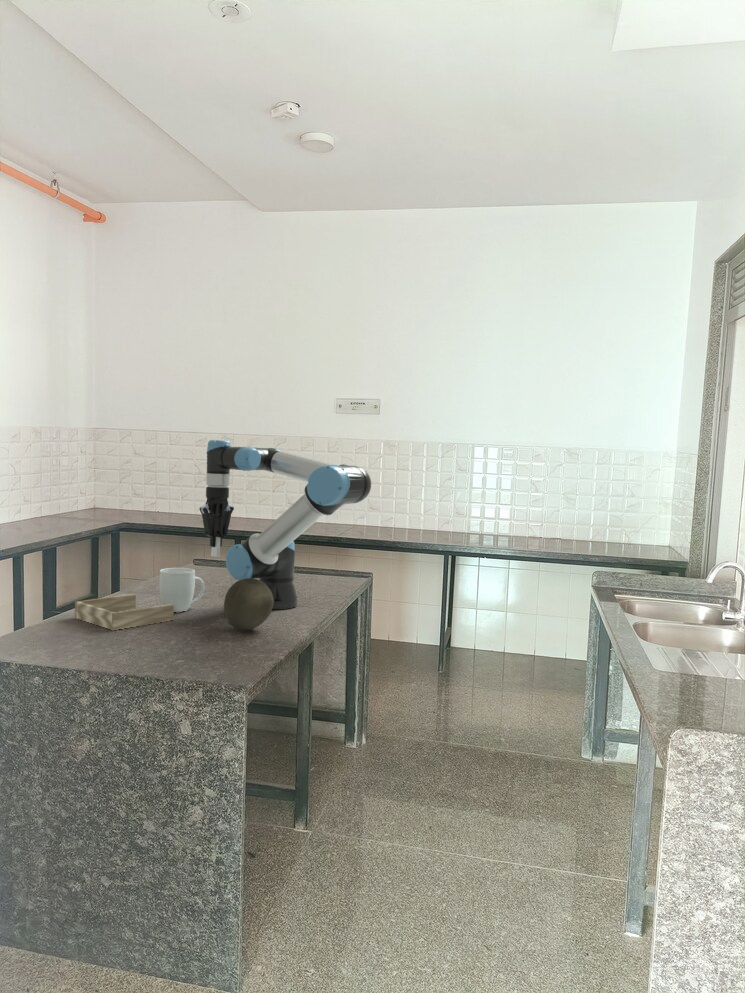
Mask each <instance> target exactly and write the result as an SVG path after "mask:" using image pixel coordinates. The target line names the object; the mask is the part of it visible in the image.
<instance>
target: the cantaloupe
mask: <svg viewBox="0 0 745 993" xmlns="http://www.w3.org/2000/svg"><path fill="white" fill-rule="evenodd" d="M273 603H274V599H273V596H272V593H271V590H270V589H269V588H268V586H267V585H266V584H265V583H263V582H262V581H260V580H259V579H258V578H256V579H253V578H251V579H242V580H236V582H234V583H233V584H232V585H231V586H230V587H229V588H228V590H227V591H226V594H225V597H224V601H223V611H224V616H225V619H226V620H227V623H228V624H229V625H230V626H231V627H232V628H234V629H235V630H238V631H251V630H252V629H255V628H257V627H259V626H260V625H262V624H263V623H264V622H266V620H268V618H269V616H270V615H271V614H272V611H273V609H272V608H273Z"/></svg>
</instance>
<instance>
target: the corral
mask: <svg viewBox="0 0 745 993" xmlns="http://www.w3.org/2000/svg"><path fill="white" fill-rule="evenodd" d="M136 599H137V594H136V593H129V594H123V595H115V596H107V597H101V598H100V597H99V598H91V599H86V600H78V601H74V619H75V618H76V619H75V620H78V619H79V621H81V620H82V622H84V621H86V622H85V623H87V622H89V623H88V624H90V623H92V624H91V625H93V624H95V625H94V626H96V625H99V626H102V627H105V628H108V629H111V630H117V631H119V630H118V629H123V630H125V629H124V628H129V627H134V628H137V627H136V626H140V627H143V626H142V625H145V626H149V625H148V624H151V625H154V623H156V624H160V622H162V623H167V622H171V621H170V620H173V621H174V604H166V605H162V604H161V605H154V606H148V607H142V608H136V603H137V600H136ZM132 609H134V610H132ZM126 610H128V611H126ZM119 611H122V612H119ZM115 612H116V613H115ZM166 621H167V622H166ZM99 626H98V627H99ZM102 627H101V628H102ZM105 628H104V629H105ZM108 629H107V630H108ZM129 629H130V628H129ZM111 630H110V631H111Z"/></svg>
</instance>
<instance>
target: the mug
mask: <svg viewBox="0 0 745 993" xmlns="http://www.w3.org/2000/svg"><path fill="white" fill-rule="evenodd" d="M158 580H159V585H158V586H159V590H158V591H159V597H160V602H161V605H166V604H174V612H176V613H184V612H183V611H185V612H186V611H188V610H189V608H190V606H191V604H192V603H195V602H197V601H199V600H200V599H201V598H202V597H203V595H204V593H205V582H204V580H203V579H202V578H201V577H199V576H196V570H195V569H193V568H189V567H166V568H161V569H159V579H158ZM196 581H198V582H199V584H200V592H199V594H198V595H197V596H196V597H195V598H194V594H195V586H196ZM193 598H194V599H193Z"/></svg>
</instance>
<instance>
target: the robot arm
mask: <svg viewBox="0 0 745 993" xmlns="http://www.w3.org/2000/svg"><path fill="white" fill-rule="evenodd" d="M230 470H238V471H244V472H247V471H248V472H250V471H266V472H270V473H274V474H277V475H282V476H285V477H290V478H293V479H296V480H300V481H302V482H307V484H306V485H305V487H304V494H303V495H302V496H301V497H299V498H298V499H297V500H296V501H295V502H294V503H293V504H292V505H291V506H290V507H288V509H286V510H285V511H284V512H283V513H282V514H280V516H278V517H277V518H276V519H275V520H274V521H273V522H272V523H270V524H269V525H268V526H267V527H266V528H265V529H264V530H262V532H260V533H259V532H257V533H253V534H251V535H250V536H249V537H248V538H247V539H246V540H245V541H243V542H242V543H240V544H239V543H238V544H237V543H236V544H234V545H232V546H230V547H229V548H228V550H227V552H226V554H225V566H226V569H227V571H228V573H229V575H230V576H231V577H232V578H233V579H234V580H236V581H239V580H242V579H251V578H253V579H258V580H260V581H262V582H263V583H265V584H266V585H267V586H268V588H269V589H270V590H271V593H272V596H273V599H274V603H273V608H272V610H287V609H293V607H294V608H296V607H298V605H299V597H298V596H297V593H296V592H297V591H296V587H295V583H294V578H295V577H294V576H295V574H294V573H295V556H296V554H295V553H296V548H295V546H296V545H295V540H296V539H297V538H298V537H300V536H301V535H302V534H303V533H305V531H306V530H308V529H309V528H310V527H312V526H313V525H314V523H316V522H317V521H318V520H319V519H321V517H323V516H331V515H333V514H334V513H335V512H336V511H337V510H339V509H340V508H341V507H342V506H344V505H348V504H357V503H361V502H362V501H364V500H365V499H366V498H367V497H368V495H369V494H370V492H371V490H372V480H371V476H370V475H369V473H368V472H367V470H365V469H364V468H362V467H360V466H357V465H348V464H345V463H344V464H339V465H336V464H330V463H326V462H323V461H318V460H316V459H312V458H308V457H303V456H300V455H296V454H292V453H289V452H284V451H281V450H280V449H278V448H273V447H268V448H267V447H266V448H265V447H251V446H250V447H249V446H231V441H229V440H223V439H222V440H220V439H219V440H218V439H211V440H209V441H208V442H207V448H206V488H205V497H206V501H205V505H203V506H201V507H199V509H198V510H199V511H200V513H201V516H202V517H201V518H202V524H203V529H204V535H205V536H207V537H209V538H210V539H209V546H210V547H211V552H210V555H211V557H214V558H220V557H221V547H222V546H223V538H224V537H225V536H226V535H228V532H229V527H230V522H231V518H232V517H231V516H232V513H233V511H235V510H234V509H235V508H234V506H231V505H230V504H229V500H228V499H229V497H230V488H229V486H230Z"/></svg>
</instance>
